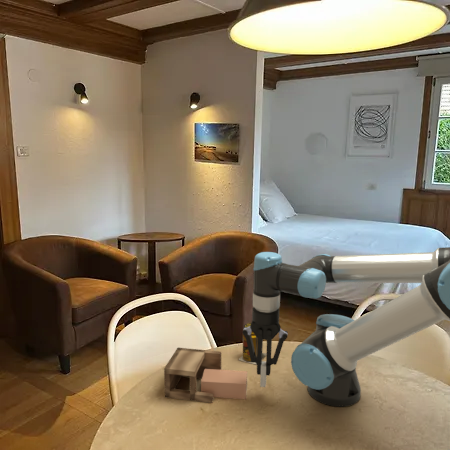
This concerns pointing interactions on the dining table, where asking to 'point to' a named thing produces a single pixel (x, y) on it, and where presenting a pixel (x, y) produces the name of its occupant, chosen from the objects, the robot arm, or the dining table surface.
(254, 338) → the condiment
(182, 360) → the dock
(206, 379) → the pink rectangular block
